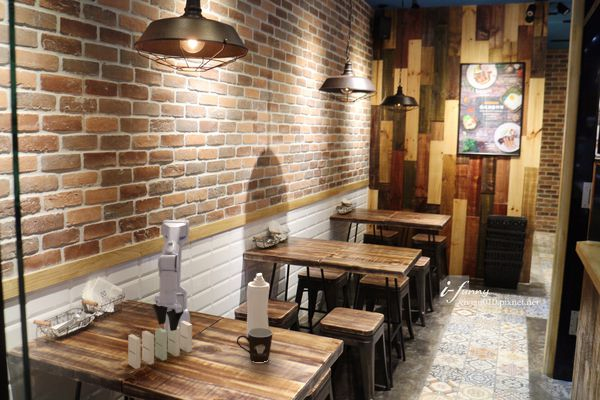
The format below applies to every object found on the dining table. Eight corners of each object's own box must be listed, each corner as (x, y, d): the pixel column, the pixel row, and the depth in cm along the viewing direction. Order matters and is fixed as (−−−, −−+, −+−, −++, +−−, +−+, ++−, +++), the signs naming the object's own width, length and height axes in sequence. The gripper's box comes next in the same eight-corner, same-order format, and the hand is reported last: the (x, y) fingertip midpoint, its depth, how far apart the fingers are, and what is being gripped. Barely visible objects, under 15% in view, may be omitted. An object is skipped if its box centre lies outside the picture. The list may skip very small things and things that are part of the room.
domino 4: (171, 350, 184) (172, 323, 183) (179, 355, 180) (179, 327, 179) (167, 351, 183) (168, 324, 181) (175, 356, 179) (175, 328, 178)
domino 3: (159, 354, 180) (159, 327, 179) (166, 359, 177) (167, 331, 175) (155, 355, 179) (155, 328, 178) (162, 360, 176) (162, 332, 174)
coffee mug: (275, 357, 182) (276, 330, 181) (266, 367, 174) (267, 338, 173) (245, 351, 186) (246, 324, 185) (234, 360, 178) (235, 333, 177)
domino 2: (146, 358, 177) (146, 330, 175) (153, 363, 173) (154, 334, 172) (141, 359, 175) (142, 331, 174) (149, 364, 172) (149, 336, 171)
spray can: (236, 337, 198) (238, 274, 195) (255, 330, 207) (257, 269, 204) (259, 345, 191) (261, 280, 188) (277, 337, 200) (279, 275, 197)
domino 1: (132, 362, 173) (132, 334, 172) (140, 367, 170) (140, 338, 168) (128, 364, 172) (128, 335, 171) (135, 369, 168) (135, 339, 167)
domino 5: (183, 347, 187) (184, 320, 186) (191, 351, 184) (192, 324, 183) (179, 348, 186) (180, 321, 185) (187, 352, 183) (188, 325, 182)
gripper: (146, 286, 179) (146, 323, 181) (169, 296, 169) (168, 336, 171) (164, 282, 184) (164, 319, 186) (187, 292, 174) (186, 330, 176)
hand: (167, 326), depth 178 cm, fingers open, 7 cm apart
